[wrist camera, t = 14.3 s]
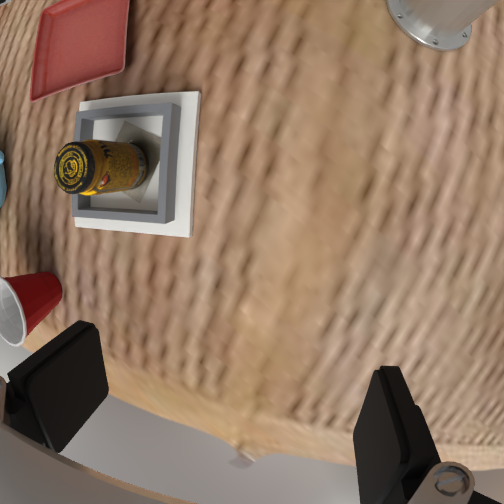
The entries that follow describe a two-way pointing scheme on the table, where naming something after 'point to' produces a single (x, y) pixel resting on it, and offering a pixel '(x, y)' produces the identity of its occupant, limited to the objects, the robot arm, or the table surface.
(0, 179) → the decorative pot
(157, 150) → the condiment
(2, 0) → the smartphone
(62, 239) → the table surface
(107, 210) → the holder
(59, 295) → the plastic cup
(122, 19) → the plant saucer
